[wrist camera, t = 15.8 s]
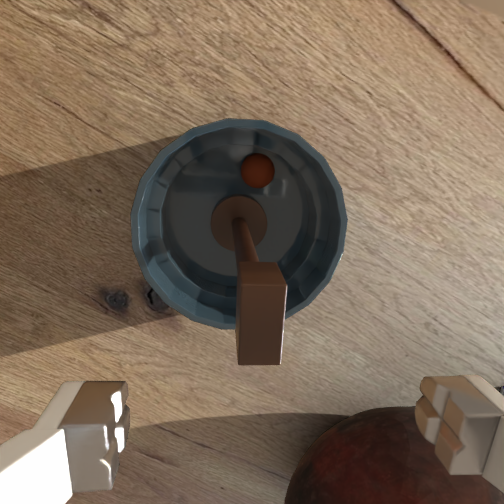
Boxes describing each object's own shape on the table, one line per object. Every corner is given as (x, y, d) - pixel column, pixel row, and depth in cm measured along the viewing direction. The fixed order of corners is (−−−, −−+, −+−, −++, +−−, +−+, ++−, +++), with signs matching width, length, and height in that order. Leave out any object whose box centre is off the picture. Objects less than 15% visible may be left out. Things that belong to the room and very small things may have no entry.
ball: (233, 183, 29) (234, 154, 31) (253, 197, 32) (252, 170, 33) (263, 171, 28) (262, 141, 29) (281, 187, 30) (280, 159, 31)
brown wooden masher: (211, 192, 32) (195, 263, 13) (266, 194, 33) (333, 265, 13) (210, 246, 34) (195, 383, 14) (263, 247, 34) (319, 381, 15)
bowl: (144, 119, 31) (124, 112, 24) (333, 129, 32) (360, 125, 26) (151, 297, 35) (136, 329, 29) (315, 299, 37) (333, 329, 31)
